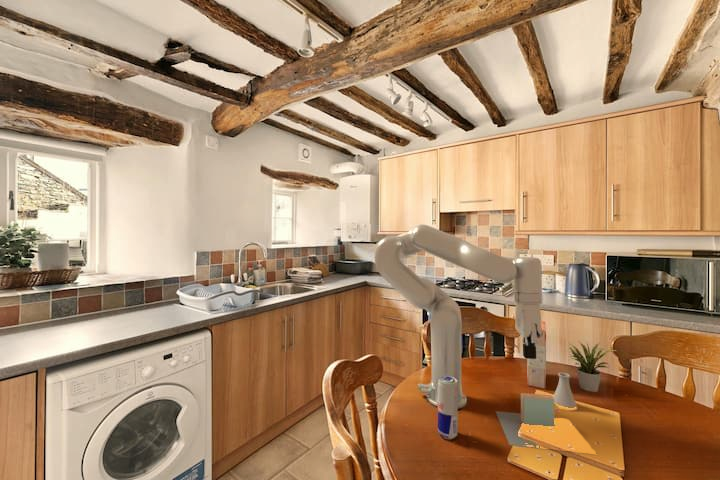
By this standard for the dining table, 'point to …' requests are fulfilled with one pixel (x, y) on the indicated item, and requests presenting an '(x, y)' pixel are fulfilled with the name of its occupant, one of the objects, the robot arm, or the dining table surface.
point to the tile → (537, 409)
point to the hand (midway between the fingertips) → (529, 357)
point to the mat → (513, 428)
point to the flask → (564, 392)
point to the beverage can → (447, 407)
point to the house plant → (589, 367)
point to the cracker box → (538, 362)
